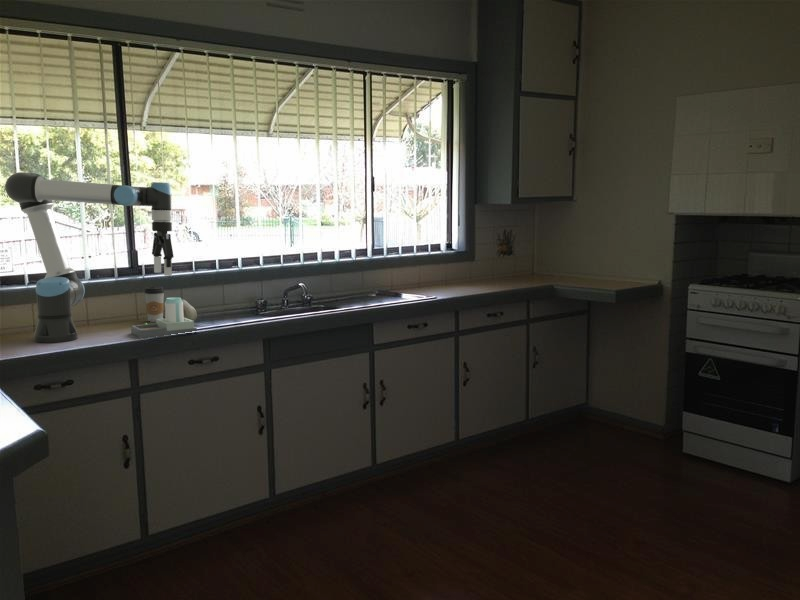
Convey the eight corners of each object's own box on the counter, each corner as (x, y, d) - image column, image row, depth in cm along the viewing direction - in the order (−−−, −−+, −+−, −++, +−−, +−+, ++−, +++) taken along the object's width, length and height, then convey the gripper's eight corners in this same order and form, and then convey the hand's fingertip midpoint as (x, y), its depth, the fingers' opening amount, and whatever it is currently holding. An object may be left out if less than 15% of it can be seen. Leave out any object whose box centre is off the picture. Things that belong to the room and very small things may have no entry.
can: (163, 326, 288) (162, 297, 286) (180, 325, 292) (179, 296, 290) (169, 329, 282) (167, 299, 281) (186, 327, 286) (185, 298, 285)
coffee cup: (144, 322, 311) (142, 288, 309) (147, 319, 319) (145, 286, 317) (164, 322, 312) (162, 288, 310) (166, 319, 320) (165, 286, 318)
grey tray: (141, 338, 273) (141, 326, 272) (131, 333, 284) (130, 321, 283) (197, 333, 286) (196, 320, 285) (184, 328, 297) (184, 316, 296)
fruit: (179, 323, 310) (178, 296, 308) (200, 323, 309) (199, 296, 308) (170, 327, 300) (169, 299, 298) (192, 327, 299) (191, 299, 298)
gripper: (181, 222, 275) (182, 276, 278) (161, 220, 295) (162, 271, 298) (161, 222, 271) (162, 277, 274) (143, 220, 291) (144, 271, 294)
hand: (162, 274), depth 286 cm, fingers open, 13 cm apart
